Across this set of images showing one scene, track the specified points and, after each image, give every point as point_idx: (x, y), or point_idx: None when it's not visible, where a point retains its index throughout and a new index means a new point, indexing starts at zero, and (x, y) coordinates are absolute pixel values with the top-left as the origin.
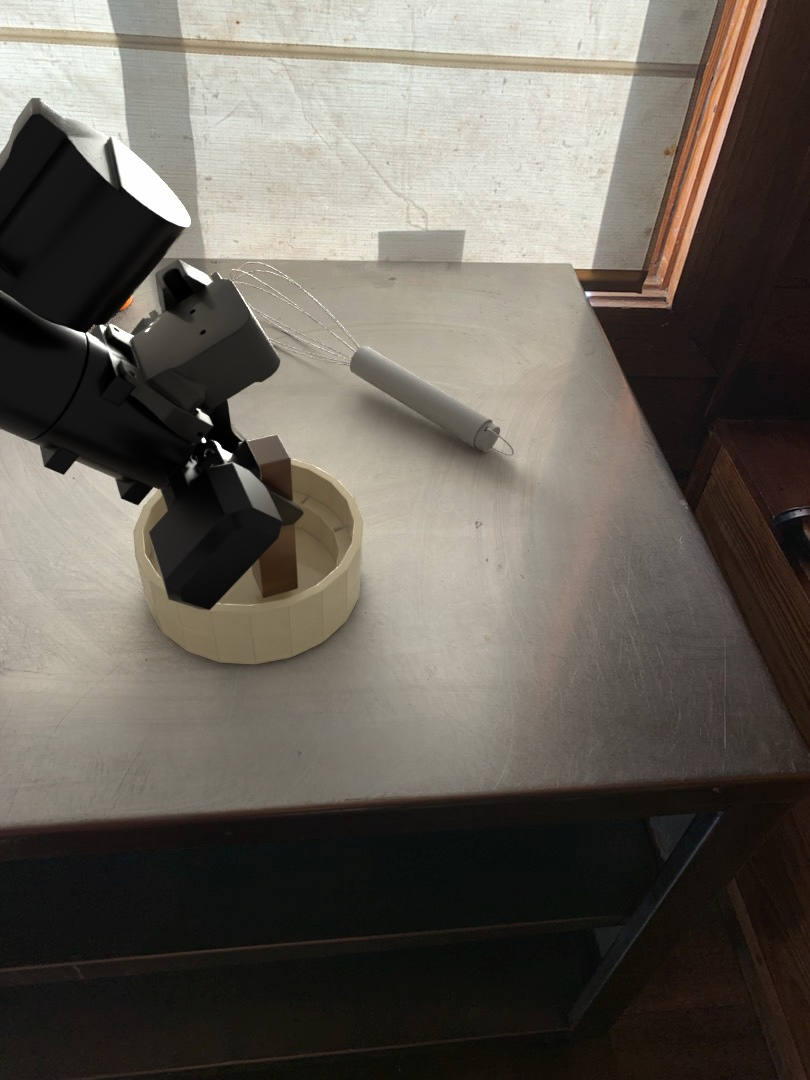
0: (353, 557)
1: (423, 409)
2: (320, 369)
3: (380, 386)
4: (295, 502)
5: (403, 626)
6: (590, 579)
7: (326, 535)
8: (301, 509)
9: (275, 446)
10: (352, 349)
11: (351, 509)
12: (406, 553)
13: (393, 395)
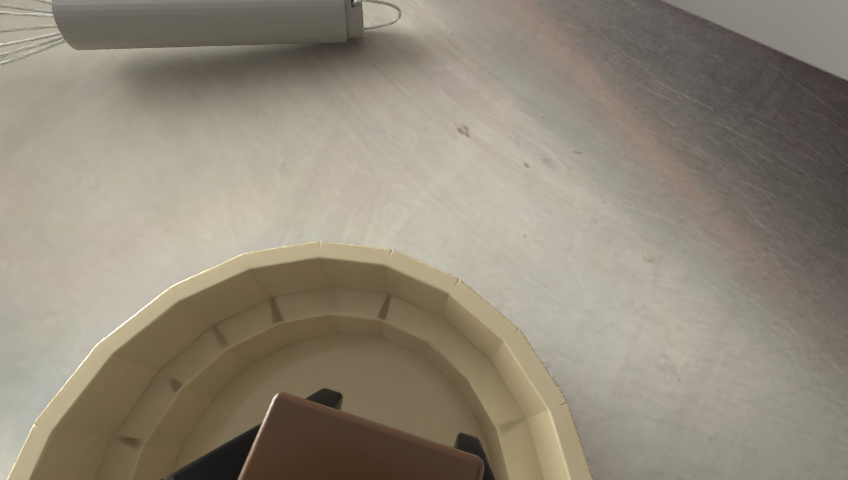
0: (543, 365)
1: (243, 33)
2: (18, 79)
3: (146, 41)
4: (265, 329)
5: (570, 340)
6: (625, 99)
7: (359, 327)
8: (475, 443)
9: (350, 467)
10: (42, 10)
11: (415, 275)
12: (447, 239)
13: (178, 42)
